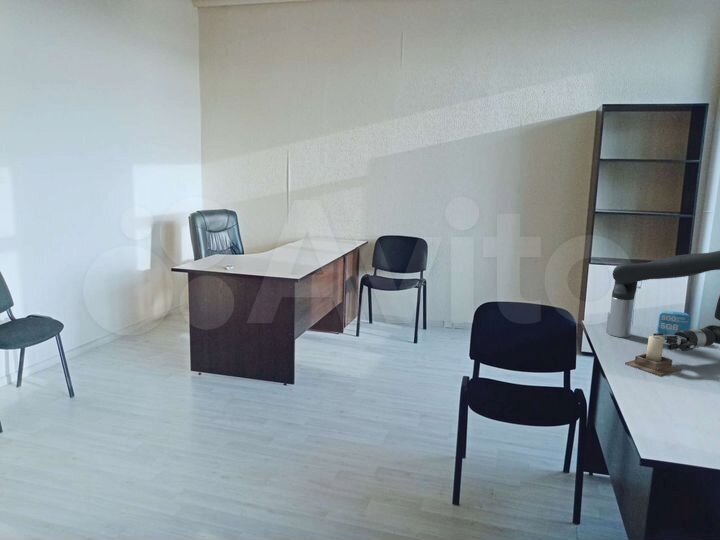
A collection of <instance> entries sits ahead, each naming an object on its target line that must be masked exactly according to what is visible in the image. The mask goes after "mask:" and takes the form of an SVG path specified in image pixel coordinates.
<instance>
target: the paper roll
mask: <svg viewBox="0 0 720 540" xmlns="http://www.w3.org/2000/svg"><path fill="white" fill-rule="evenodd" d="M647 339H648V341H647V348H646V353H647V354H646V353H645V354H646V359H648V360H651V361H654V362H657V363H659V362H661V358H662V356H663V351H664V344H663V343H664V342H665V341H664V338H662V337H659V336H653V335H649V336H648V338H647Z"/></svg>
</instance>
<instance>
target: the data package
mask: <svg viewBox="0 0 720 540" xmlns="http://www.w3.org/2000/svg"><path fill="white" fill-rule="evenodd" d="M690 325H691V316H690V315H689V313H687V312H681V311H670V310H660V311H659V312H658V316H657V325H656V333H666V335H674V334H675V333H676V332H678V331H682V330H690Z"/></svg>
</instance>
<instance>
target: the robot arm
mask: <svg viewBox="0 0 720 540" xmlns="http://www.w3.org/2000/svg"><path fill="white" fill-rule="evenodd" d="M711 271H720V250H716V251H711V252H710V251H709V252H701V253H700V252H699V253H688V254H678V255H672V256H668V257H667V256H666V257H662V258H658V259H655V260H652V261H651V260H650V261H648V262H642V263H641V262H640V263H633V262H631V261H623V262H621V263H619V264H618V265H617V266H616V267H614V269H613V271H612V278H613V280H614V285H613V289H612V292H611V299H610V301H611V302H610V310H609V312H608V313H607V320H606V327H605V328H606V329H605V332H606V333H607V334H608V335H610V336H613V337H617V338H629V337H630V336H631V329H632V321H633V314H634V313H633V312H634V306H635V305H634V303H635V297H636V292H637V287H638V282H641V281H647V280H665V279H674V278H675V279H677V278H685V277H691V276H695V275H699V274H703V273H706V272H711ZM714 319H716V320H718V321H720V295H719V296H718V300H717V302H716V307H715V312H714ZM652 336H659V337H662V338H664V343H663V345H667V348H666V349H667V350H669V351H671V350H677V351H680V350H681V351H682V352H687V351H692V350H695V349H699V348H702V347H703V348H704V347H709V346H711V345H713V344H717V345H720V325H716V324H715V325H714V324H712V325H707V326H705V327H703V328H696V329H695V328H694V329H693V328H691V329H690V328H689V330H682V331H678V332H676V333H675V334H674V335H666V333H653V335H652ZM665 340H666V341H665Z"/></svg>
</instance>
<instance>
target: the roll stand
mask: <svg viewBox="0 0 720 540" xmlns="http://www.w3.org/2000/svg"><path fill="white" fill-rule="evenodd" d="M646 354H647V352H646V353H642V354H638V355H636V356H635V358H634V360H631V361H626V362H624V364H625V365H626V364H627V365H626V366H629V365H630V366H629V367H632V368H635V369H637V368H638V370H640V371H643V372H647V373H648V374H651V373H652V375H654V374H655V376H657V375H658V377H661V376H665V375H668V374H671V373H675V372H678V371H681V370H682V367H680V366H676V365H673V359H671V358H669V357H665V356H663V355H662V358H661V362H659V363H657V362H654V361H651V360H648V359H646Z"/></svg>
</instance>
